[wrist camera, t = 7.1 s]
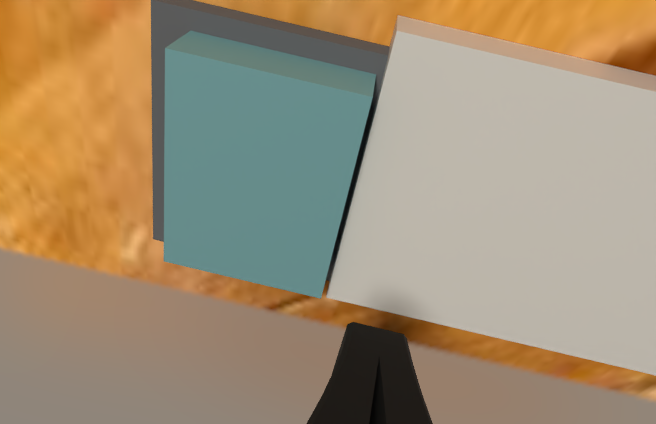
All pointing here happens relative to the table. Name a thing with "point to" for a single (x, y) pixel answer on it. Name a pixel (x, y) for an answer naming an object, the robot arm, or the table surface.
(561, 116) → the plinth
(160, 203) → the mat
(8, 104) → the table surface
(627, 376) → the table surface
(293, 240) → the tile
